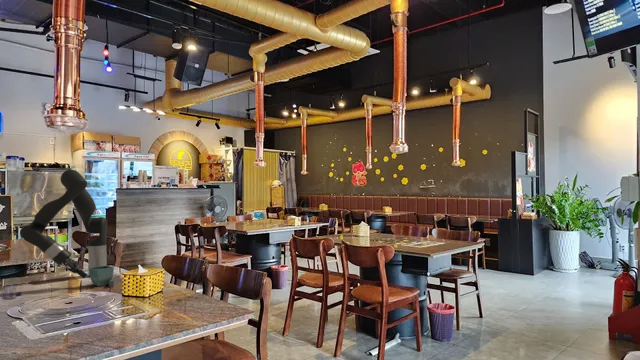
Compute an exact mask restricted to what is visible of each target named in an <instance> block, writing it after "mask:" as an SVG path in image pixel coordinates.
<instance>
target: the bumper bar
mask: <svg viewBox="0 0 640 360" xmlns="http://www.w3.org/2000/svg"><path fill="white" fill-rule="evenodd" d="M120 278H121V275H120V274H115V276H113V277H112V279H111V280H110V281H109V284H108V286H109V287H108V288H115V286H116V285H118V284H119V283H120V282H121V280H120Z"/></svg>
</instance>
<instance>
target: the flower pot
mask: <svg viewBox="0 0 640 360" xmlns="http://www.w3.org/2000/svg"><path fill="white" fill-rule="evenodd" d="M114 270H115V267H114V266H110V265H107V266H100V267H92V268H89V273H90V280H91V283H92V284H93V286H97V287H101V286H109V281H110V280H111V279H112V278H114Z"/></svg>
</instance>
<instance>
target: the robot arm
mask: <svg viewBox="0 0 640 360" xmlns="http://www.w3.org/2000/svg"><path fill="white" fill-rule="evenodd" d="M59 181H60V183H61V184H62V186H63V187H64V188H65V189H66V191H65V192H64V193H63V195H61V196H60V197H59V198H56V199H53V200H51V201H48V202H47V203H45V204H44V205H43V206H41V208H40V209H39V210H38V211H37V213H36V214H35V215H34V217H33V218H34V219H33V221H31V222H30V223H29V224H26V225H24V226H23V227H21V228H20V230H19V234H20V237H21V238H22V239H23V240H25V241H26V242H27V243H30V244H31V245H33V246H35V247H36V248H38V249H39V250H41V252H43V253H44V254H45V255H46V256H47V257H48V258H49V259H50V260H51V261H53V262H54V263H55V264H56V265H57V266H62V264H63V265H64V267H65V270H68V271H69V272H71V273H73V274H76V275H78V276H80V277H81V278H82V279H85V278H86V277H87V276H88V277H89V276H90V273H89V268H92V267H100V266H108V265H107V259H108V258H107V256H108V255H107V239H108V238H107V237H108V220H107V217H103V216H101V217H92V215H94V213H95V211H96V208H97V207H96V206H97V205H96V202H95V201H94V199H93V197H92V195H91V194H90V193H89V191H88V190H87V189H86V188H87V186H88V182H87V180H86V178H84V176H82V174H81V173H80V172H79V171H77V170H75V169H67V170H65V171H64V172H62V174H61V175H60V180H59ZM71 202H72V203H73V205H74V208H75V210H76V212H77V213H78V215H79V216H80V218H81V221H82V224H83V226H84V227H83V228H84V230H85V232H87V233H88V234H90V235H91V234H92V235H94V234H95V235H96V234H98V237H95V238H94V239H91V240H89V241H88V243H87V244H88V246H87V247H88V249H87V250H88V251H87V252H88V253H87V254H88V256H87V257H88V259H87V260H88V263H87V265H88V266H87V269H88V270H87V271H88V273H86V272H85V271H84V270H83V268H82V265H80V263H79V262H78V260H75V259H72V258H71V256H72V253H71V252H70V251H69V250H68V249H66V248H65V247H64V246H62V244H60V243H58V241H56V240H55V239H54V238H52V237H51V236H49V235H44V234H43V232H44V231H45V229H46V228H47V226H48V224H50V223H51V222H52V221H53V219H54V218H55V217H56V216H57V214H58V213H59V212H60V211H61V210H62V209H63V208H65V207H66V206H67V205H68V204H70V203H71Z"/></svg>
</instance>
